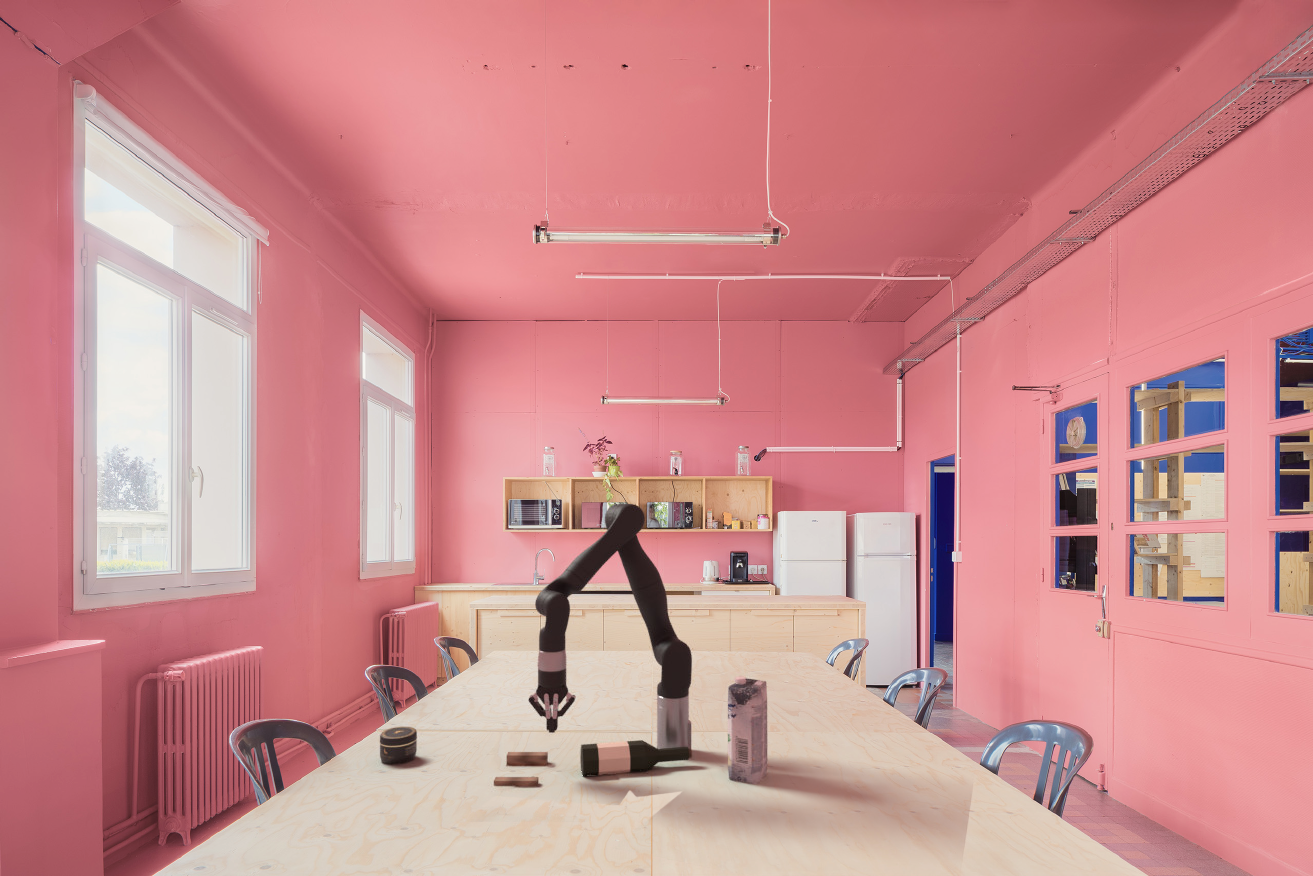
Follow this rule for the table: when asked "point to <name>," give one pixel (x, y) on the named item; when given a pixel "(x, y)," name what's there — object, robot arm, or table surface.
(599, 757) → the wine bottle
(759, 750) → the juice carton
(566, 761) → the table surface
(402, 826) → the table surface
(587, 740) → the table surface
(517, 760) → the u rest
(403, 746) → the jar
